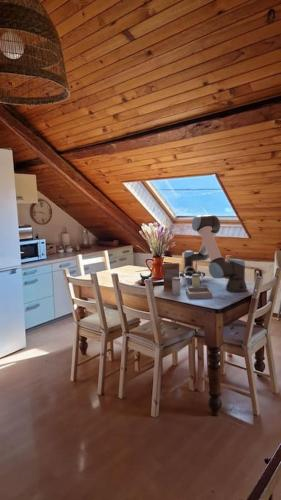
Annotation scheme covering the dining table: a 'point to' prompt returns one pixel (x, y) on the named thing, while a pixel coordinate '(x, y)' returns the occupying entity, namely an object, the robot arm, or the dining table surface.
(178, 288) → the gray canister
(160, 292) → the dining table surface
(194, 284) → the sage canister
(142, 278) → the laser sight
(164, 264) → the panel
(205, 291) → the tray
